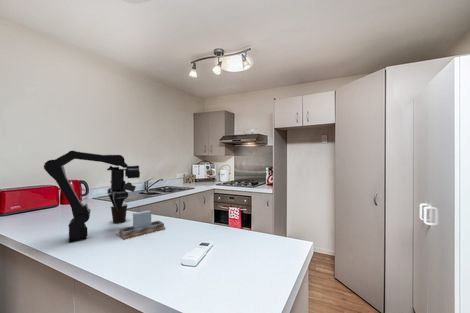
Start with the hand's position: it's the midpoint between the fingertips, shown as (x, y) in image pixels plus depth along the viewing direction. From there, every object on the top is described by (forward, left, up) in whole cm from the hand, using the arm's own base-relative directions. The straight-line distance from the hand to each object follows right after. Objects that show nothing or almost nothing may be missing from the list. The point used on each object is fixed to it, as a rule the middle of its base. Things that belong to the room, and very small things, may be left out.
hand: (117, 209), depth 106 cm
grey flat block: (+10, -9, -11) cm, 17 cm away
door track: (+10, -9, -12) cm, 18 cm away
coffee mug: (+6, +18, -12) cm, 23 cm away
